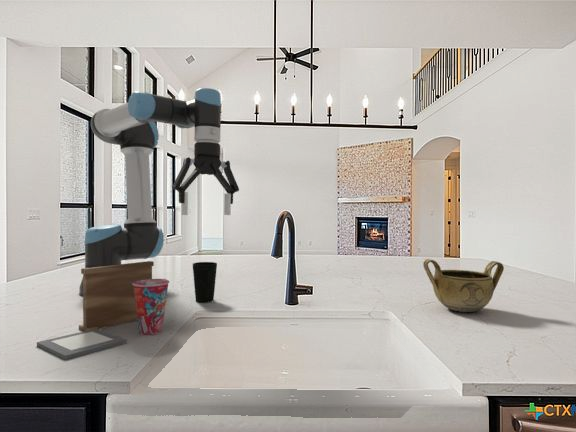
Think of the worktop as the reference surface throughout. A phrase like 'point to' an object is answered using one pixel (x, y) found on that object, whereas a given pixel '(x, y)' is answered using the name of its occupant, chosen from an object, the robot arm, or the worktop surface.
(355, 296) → the worktop surface
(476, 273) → the ceramic bowl
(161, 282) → the cup
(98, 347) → the mat
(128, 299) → the screen
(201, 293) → the cup
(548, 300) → the worktop surface
